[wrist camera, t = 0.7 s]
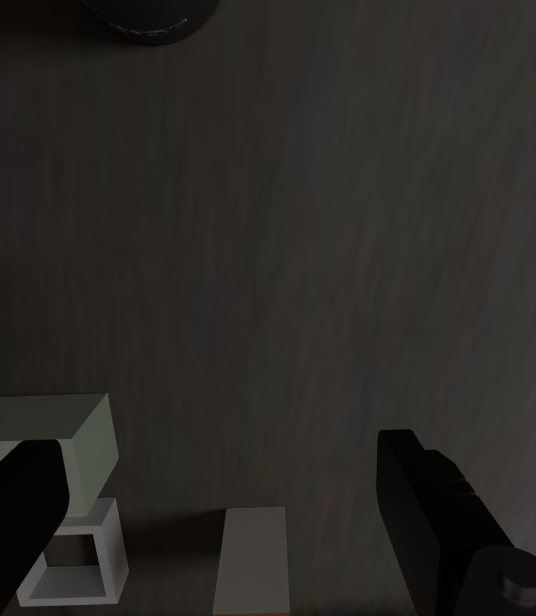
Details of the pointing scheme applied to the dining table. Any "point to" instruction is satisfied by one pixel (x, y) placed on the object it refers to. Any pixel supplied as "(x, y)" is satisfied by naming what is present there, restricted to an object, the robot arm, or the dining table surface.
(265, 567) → the orange and grey block
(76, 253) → the dining table surface
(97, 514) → the grey boxy piece
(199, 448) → the dining table surface
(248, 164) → the dining table surface
